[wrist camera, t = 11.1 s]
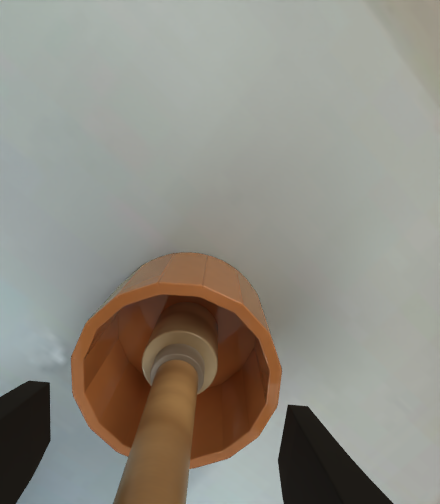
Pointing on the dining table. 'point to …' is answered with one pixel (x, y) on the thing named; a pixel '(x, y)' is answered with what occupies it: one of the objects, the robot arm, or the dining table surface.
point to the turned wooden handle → (170, 405)
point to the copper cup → (135, 341)
